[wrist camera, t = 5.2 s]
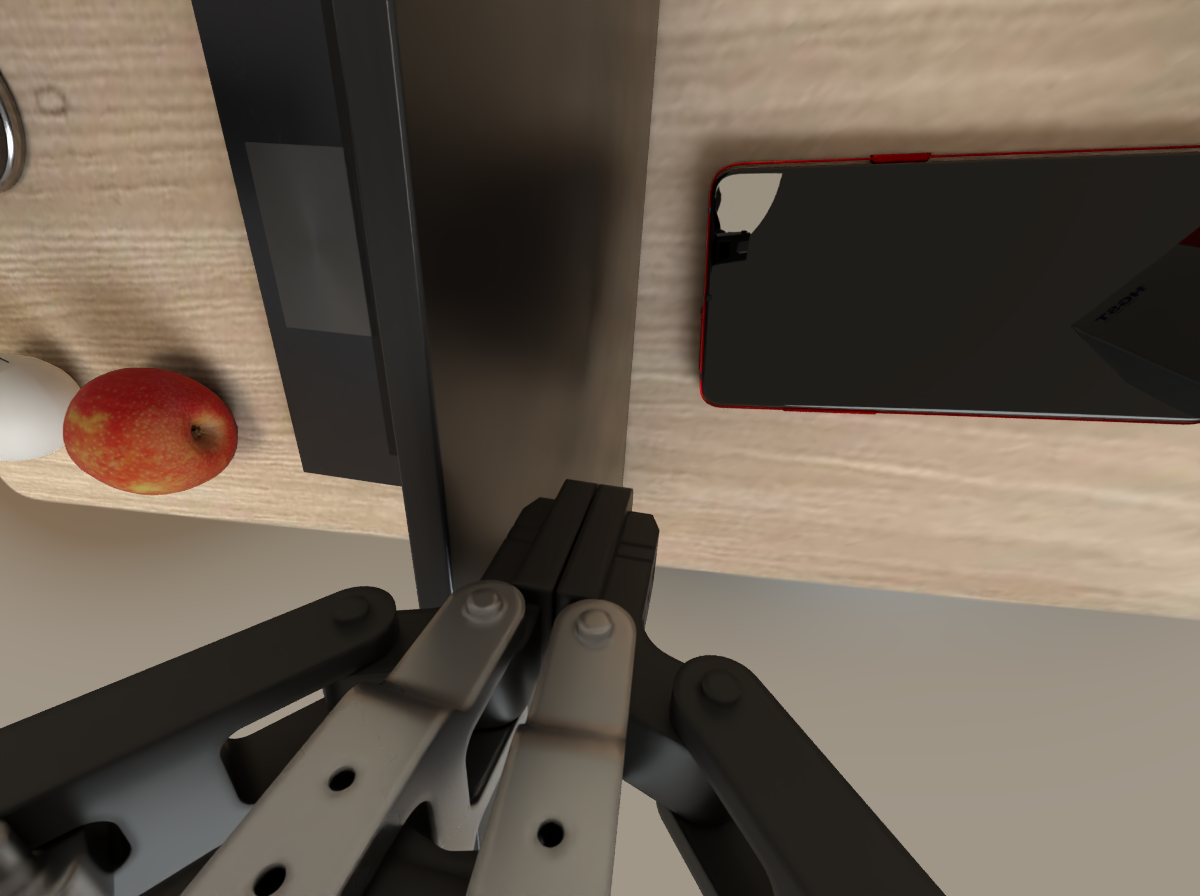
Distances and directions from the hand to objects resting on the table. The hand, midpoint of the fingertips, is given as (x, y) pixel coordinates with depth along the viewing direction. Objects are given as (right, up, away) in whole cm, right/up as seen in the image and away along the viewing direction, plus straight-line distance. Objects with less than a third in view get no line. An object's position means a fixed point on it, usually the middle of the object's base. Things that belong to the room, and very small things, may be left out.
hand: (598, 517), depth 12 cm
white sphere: (-40, +6, +29) cm, 50 cm away
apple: (-28, +4, +27) cm, 39 cm away
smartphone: (+18, +9, +15) cm, 25 cm away
